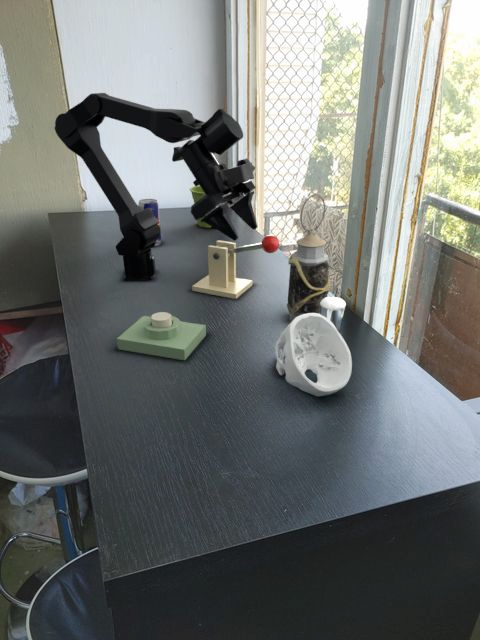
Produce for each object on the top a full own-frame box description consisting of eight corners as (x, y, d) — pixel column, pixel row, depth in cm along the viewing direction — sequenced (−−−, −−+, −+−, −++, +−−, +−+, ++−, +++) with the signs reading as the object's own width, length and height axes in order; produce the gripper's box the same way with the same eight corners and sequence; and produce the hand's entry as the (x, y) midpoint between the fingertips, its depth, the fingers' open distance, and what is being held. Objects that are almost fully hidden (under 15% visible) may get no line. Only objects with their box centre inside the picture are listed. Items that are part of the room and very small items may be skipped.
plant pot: (227, 231, 160) (226, 193, 154) (188, 230, 160) (186, 192, 154) (230, 220, 170) (229, 185, 165) (193, 219, 170) (192, 184, 165)
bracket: (252, 285, 122) (252, 242, 117) (236, 299, 115) (235, 254, 110) (210, 277, 126) (209, 235, 120) (192, 290, 118) (189, 246, 113)
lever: (283, 248, 112) (279, 231, 110) (277, 254, 109) (272, 236, 107) (222, 258, 119) (218, 242, 117) (215, 264, 116) (210, 247, 114)
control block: (118, 349, 94) (115, 329, 92) (144, 325, 102) (142, 307, 100) (184, 360, 91) (183, 340, 89) (206, 335, 99) (205, 316, 97)
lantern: (305, 307, 112) (313, 187, 99) (335, 319, 107) (347, 194, 94) (277, 319, 106) (282, 193, 94) (307, 332, 101) (316, 202, 89)
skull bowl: (305, 340, 95) (330, 302, 85) (338, 409, 89) (369, 376, 79) (253, 352, 91) (273, 312, 80) (284, 424, 85) (310, 392, 75)
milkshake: (344, 338, 99) (349, 289, 95) (338, 350, 95) (344, 300, 90) (321, 334, 101) (325, 285, 96) (314, 346, 96) (318, 296, 91)
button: (148, 327, 94) (147, 318, 93) (157, 319, 97) (156, 310, 96) (166, 330, 93) (166, 321, 92) (175, 322, 96) (174, 313, 95)
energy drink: (157, 247, 145) (153, 203, 139) (139, 246, 146) (134, 202, 140) (164, 241, 149) (161, 199, 143) (146, 240, 150) (142, 198, 144)
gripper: (209, 151, 95) (255, 225, 98) (253, 140, 110) (292, 204, 113) (170, 184, 102) (215, 253, 104) (216, 169, 117) (254, 230, 119)
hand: (246, 233), depth 110 cm, fingers open, 9 cm apart
